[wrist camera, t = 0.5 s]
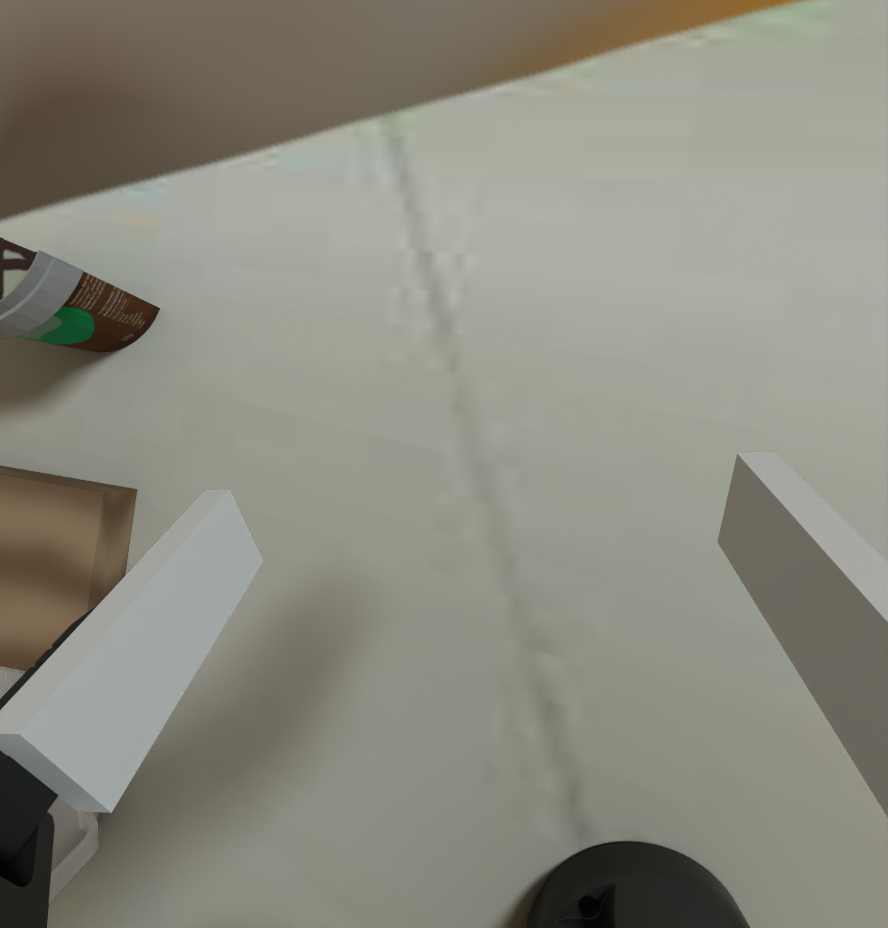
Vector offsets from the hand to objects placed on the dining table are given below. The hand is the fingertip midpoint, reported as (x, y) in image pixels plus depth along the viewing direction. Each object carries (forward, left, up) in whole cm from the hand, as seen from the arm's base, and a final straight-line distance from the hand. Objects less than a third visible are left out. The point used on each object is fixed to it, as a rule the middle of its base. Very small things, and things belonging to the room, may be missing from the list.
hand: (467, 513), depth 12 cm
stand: (-11, +33, -19) cm, 40 cm away
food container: (+7, +30, -20) cm, 36 cm away
